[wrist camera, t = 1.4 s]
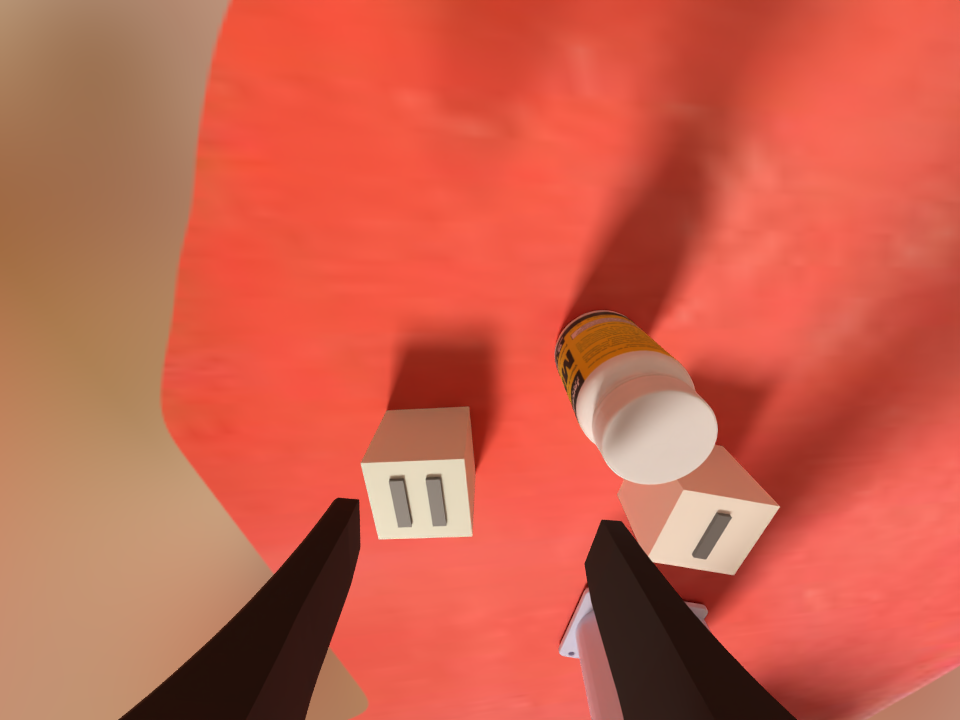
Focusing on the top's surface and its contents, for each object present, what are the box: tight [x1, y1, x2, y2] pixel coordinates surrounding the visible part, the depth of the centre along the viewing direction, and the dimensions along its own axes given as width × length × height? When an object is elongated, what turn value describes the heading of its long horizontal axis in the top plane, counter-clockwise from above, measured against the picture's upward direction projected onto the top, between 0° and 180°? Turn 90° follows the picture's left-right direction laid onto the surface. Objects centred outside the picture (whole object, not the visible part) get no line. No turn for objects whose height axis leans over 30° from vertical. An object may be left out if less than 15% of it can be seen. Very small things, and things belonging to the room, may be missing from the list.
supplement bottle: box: [555, 310, 718, 485], centre depth 17 cm, size 5×5×8 cm
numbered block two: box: [361, 406, 476, 539], centre depth 21 cm, size 5×5×5 cm
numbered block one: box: [617, 445, 780, 575], centre depth 21 cm, size 5×5×5 cm
